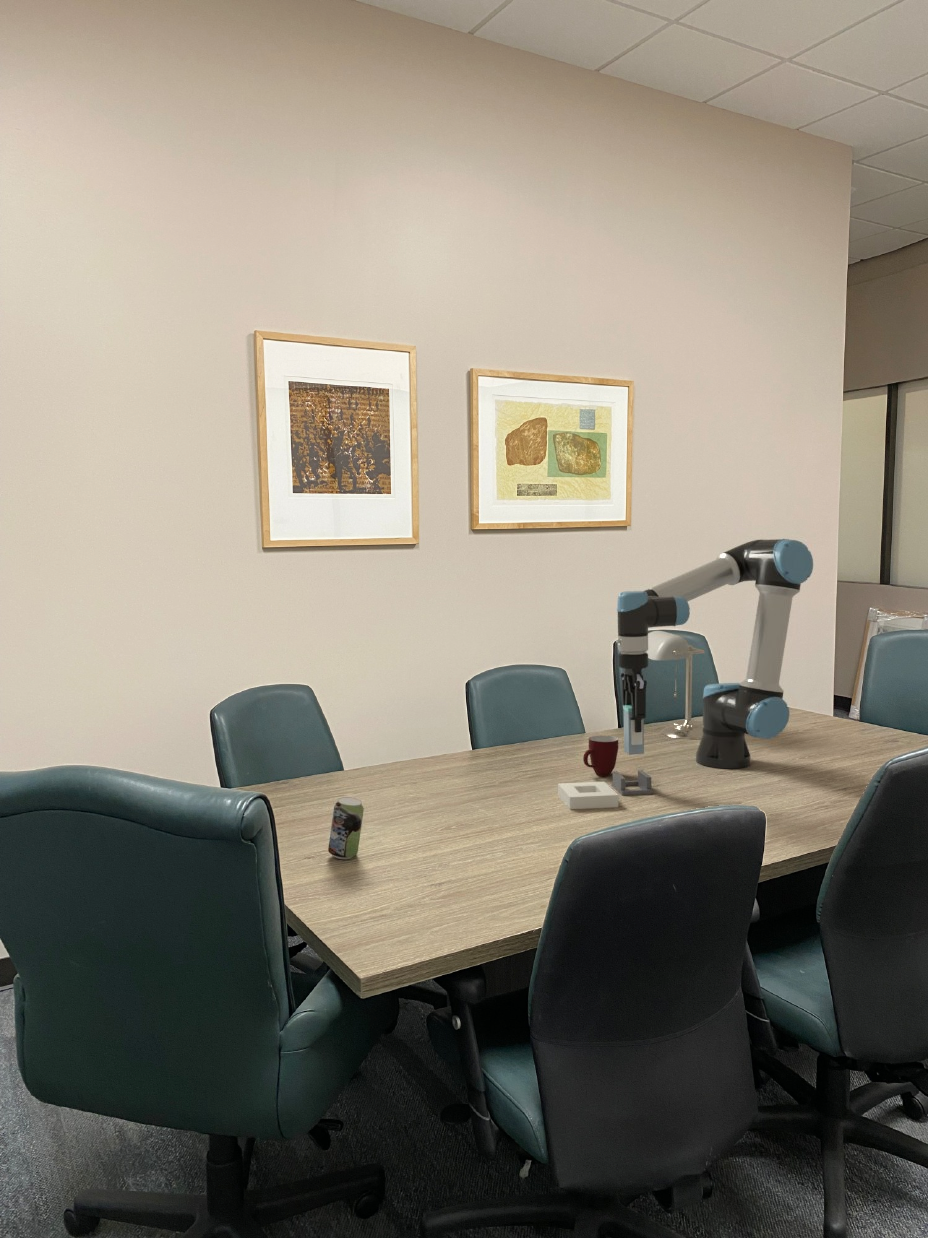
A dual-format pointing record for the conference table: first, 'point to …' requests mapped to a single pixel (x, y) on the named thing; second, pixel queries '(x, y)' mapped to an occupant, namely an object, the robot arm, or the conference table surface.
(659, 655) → the lamp
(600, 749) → the mug
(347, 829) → the beverage can
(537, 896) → the conference table surface
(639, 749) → the plug
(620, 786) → the holster
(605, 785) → the frame
